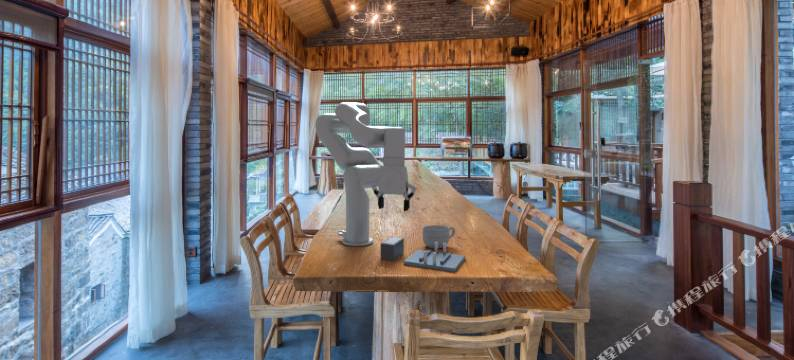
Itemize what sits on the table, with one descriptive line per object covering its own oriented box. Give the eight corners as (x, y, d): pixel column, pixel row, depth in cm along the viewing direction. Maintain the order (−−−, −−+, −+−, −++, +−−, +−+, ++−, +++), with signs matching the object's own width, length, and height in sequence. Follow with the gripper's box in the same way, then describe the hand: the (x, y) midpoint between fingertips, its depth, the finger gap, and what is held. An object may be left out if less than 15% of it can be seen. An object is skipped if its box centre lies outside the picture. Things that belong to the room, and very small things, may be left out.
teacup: (425, 251, 158) (426, 230, 157) (418, 243, 168) (419, 224, 167) (460, 249, 161) (461, 229, 160) (451, 242, 171) (452, 223, 170)
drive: (380, 259, 147) (380, 243, 146) (391, 252, 156) (391, 236, 155) (393, 261, 145) (393, 244, 144) (403, 254, 154) (403, 238, 153)
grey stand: (403, 264, 142) (404, 249, 141) (417, 252, 156) (418, 239, 155) (454, 271, 135) (455, 256, 135) (464, 258, 149) (465, 244, 148)
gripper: (367, 161, 146) (367, 209, 148) (413, 163, 139) (412, 213, 142) (376, 160, 153) (376, 205, 155) (420, 162, 146) (419, 209, 148)
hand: (393, 209), depth 148 cm, fingers open, 9 cm apart
